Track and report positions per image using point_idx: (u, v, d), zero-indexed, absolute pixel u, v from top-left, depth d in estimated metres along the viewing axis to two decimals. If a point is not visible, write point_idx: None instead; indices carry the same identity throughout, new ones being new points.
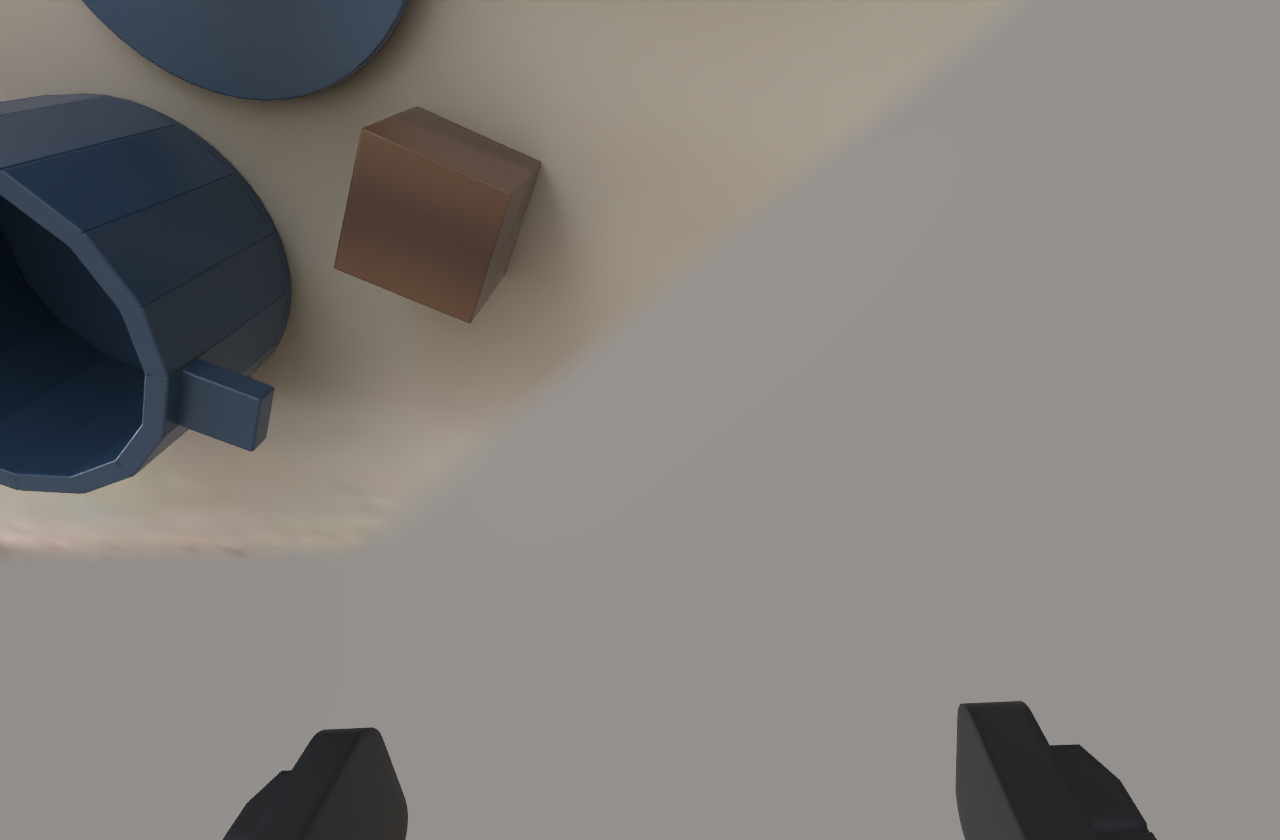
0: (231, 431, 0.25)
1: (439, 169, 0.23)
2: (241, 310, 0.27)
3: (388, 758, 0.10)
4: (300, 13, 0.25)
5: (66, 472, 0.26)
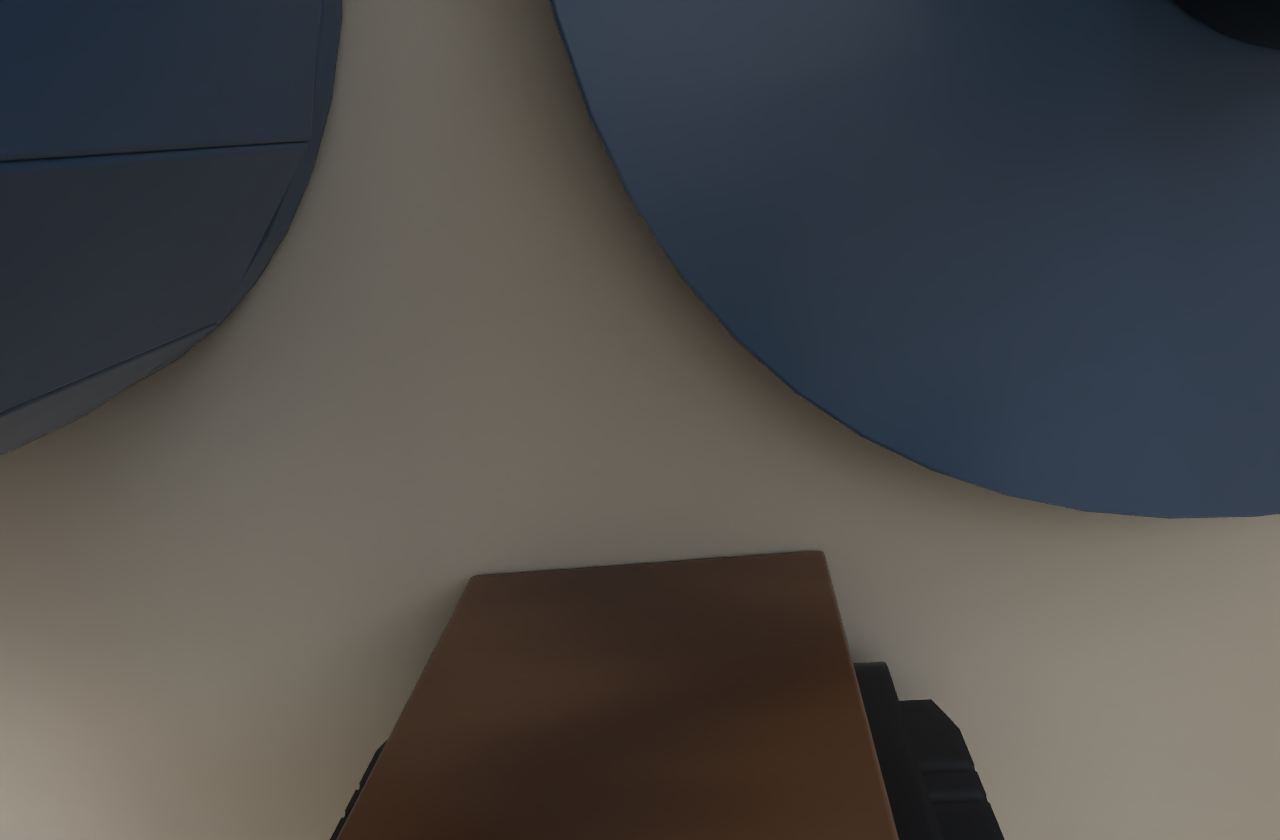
0: None
1: None
2: None
3: None
4: (982, 242, 0.07)
5: None
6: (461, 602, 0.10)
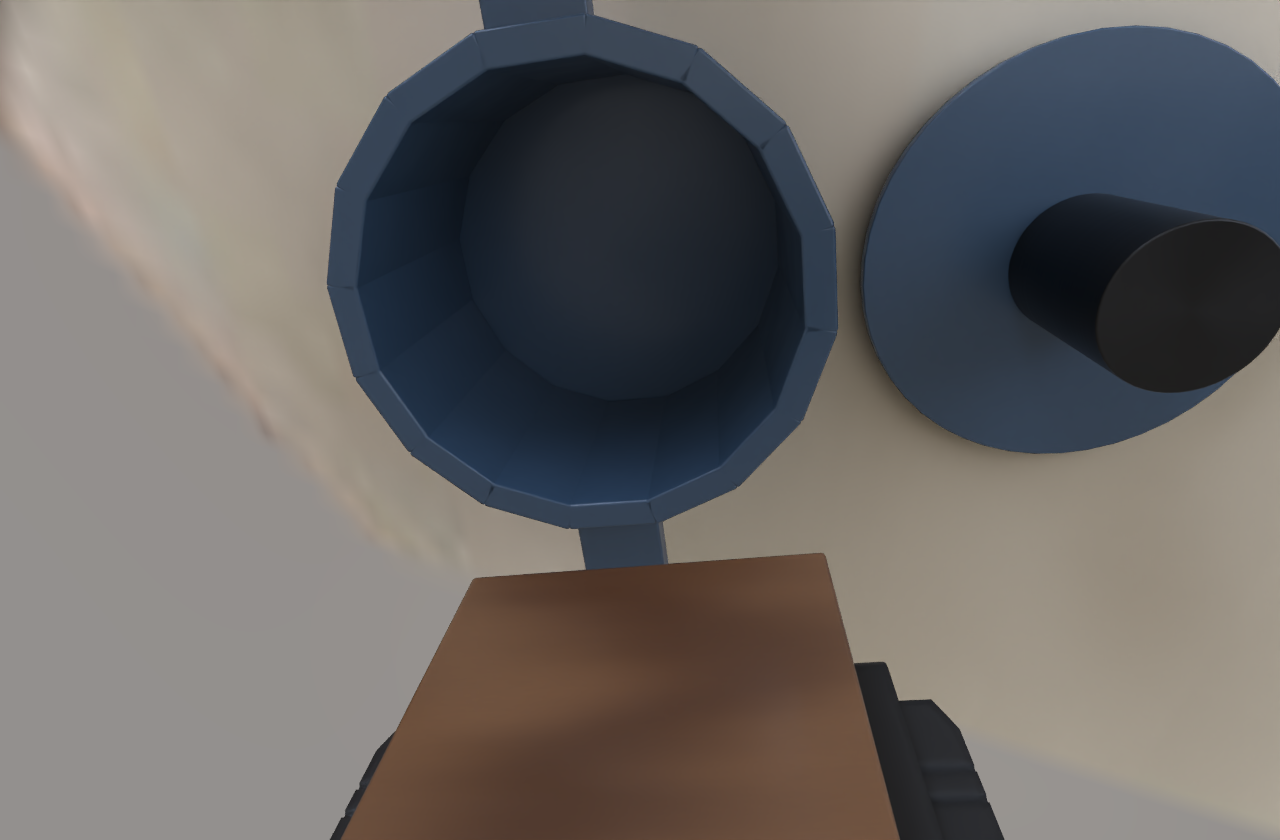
0: None
1: None
2: None
3: None
4: (978, 372, 0.25)
5: (424, 424, 0.20)
6: (463, 604, 0.10)
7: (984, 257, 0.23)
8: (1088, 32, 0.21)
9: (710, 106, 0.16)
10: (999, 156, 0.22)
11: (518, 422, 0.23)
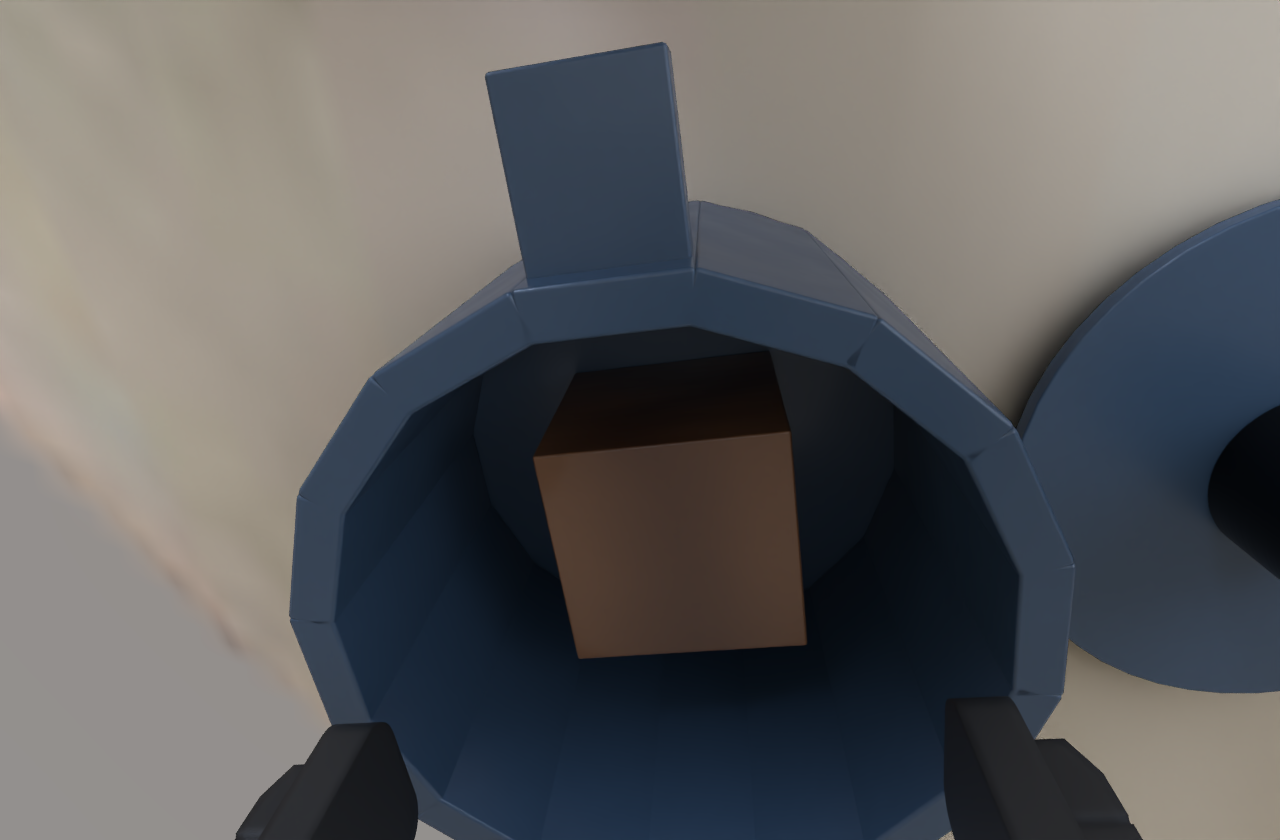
0: None
1: (789, 550, 0.14)
2: None
3: (400, 752, 0.11)
4: (1157, 601, 0.19)
5: (436, 779, 0.14)
6: (573, 380, 0.18)
7: (1177, 467, 0.18)
8: None
9: (891, 400, 0.10)
10: (1209, 345, 0.16)
11: (559, 699, 0.18)
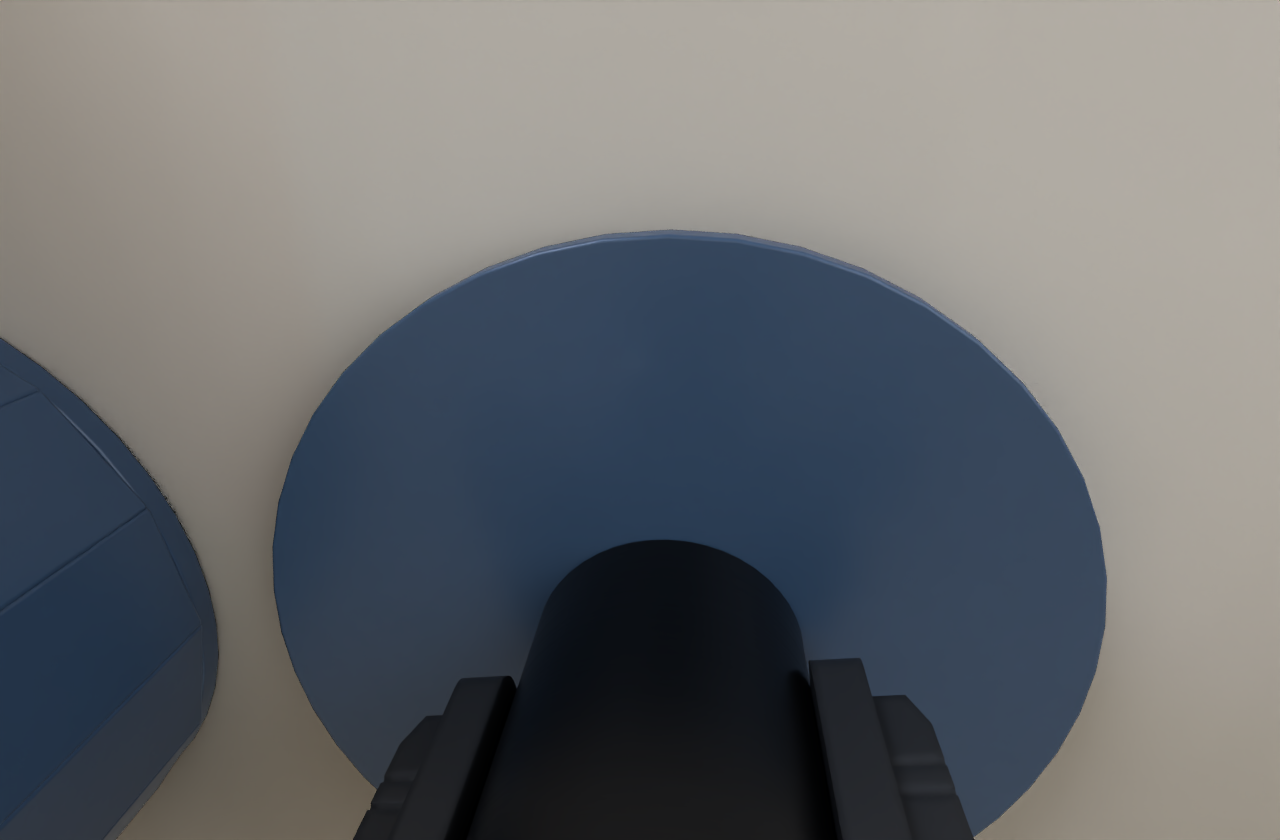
0: None
1: None
2: None
3: None
4: None
5: None
6: None
7: (492, 634, 0.12)
8: (572, 248, 0.10)
9: None
10: (465, 471, 0.11)
11: None
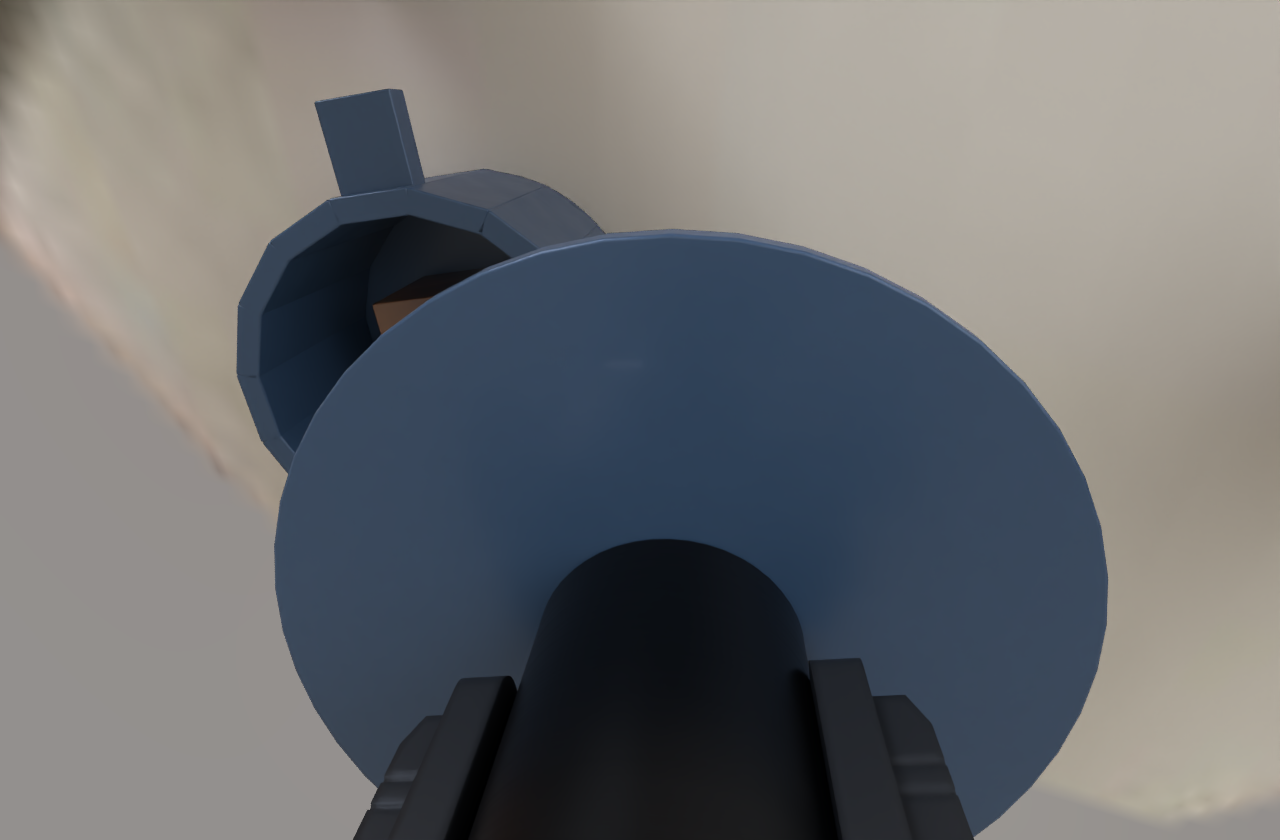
0: None
1: None
2: None
3: None
4: None
5: None
6: None
7: (493, 634, 0.12)
8: (574, 247, 0.10)
9: (502, 250, 0.22)
10: (467, 470, 0.11)
11: None
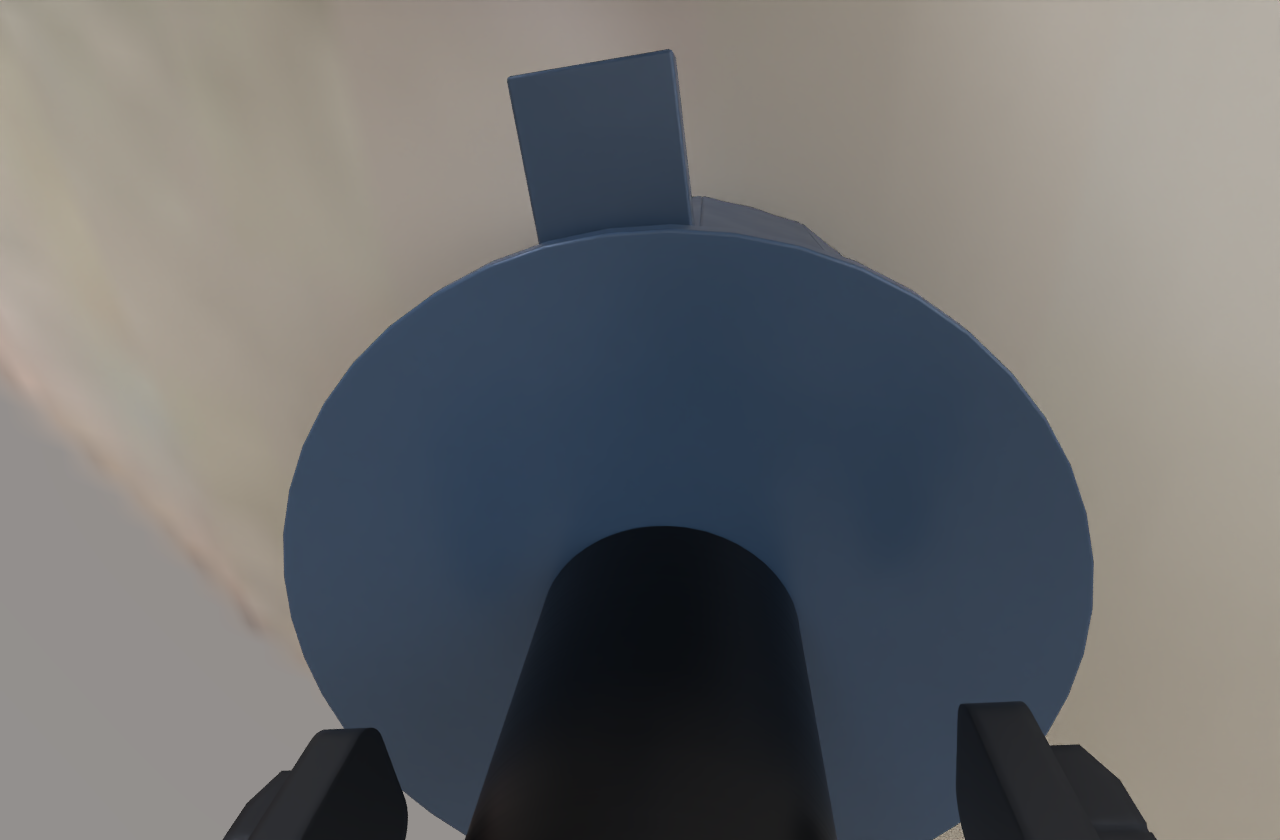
0: None
1: None
2: None
3: (388, 757, 0.10)
4: None
5: None
6: None
7: (496, 619, 0.13)
8: (576, 241, 0.10)
9: None
10: (472, 459, 0.11)
11: None
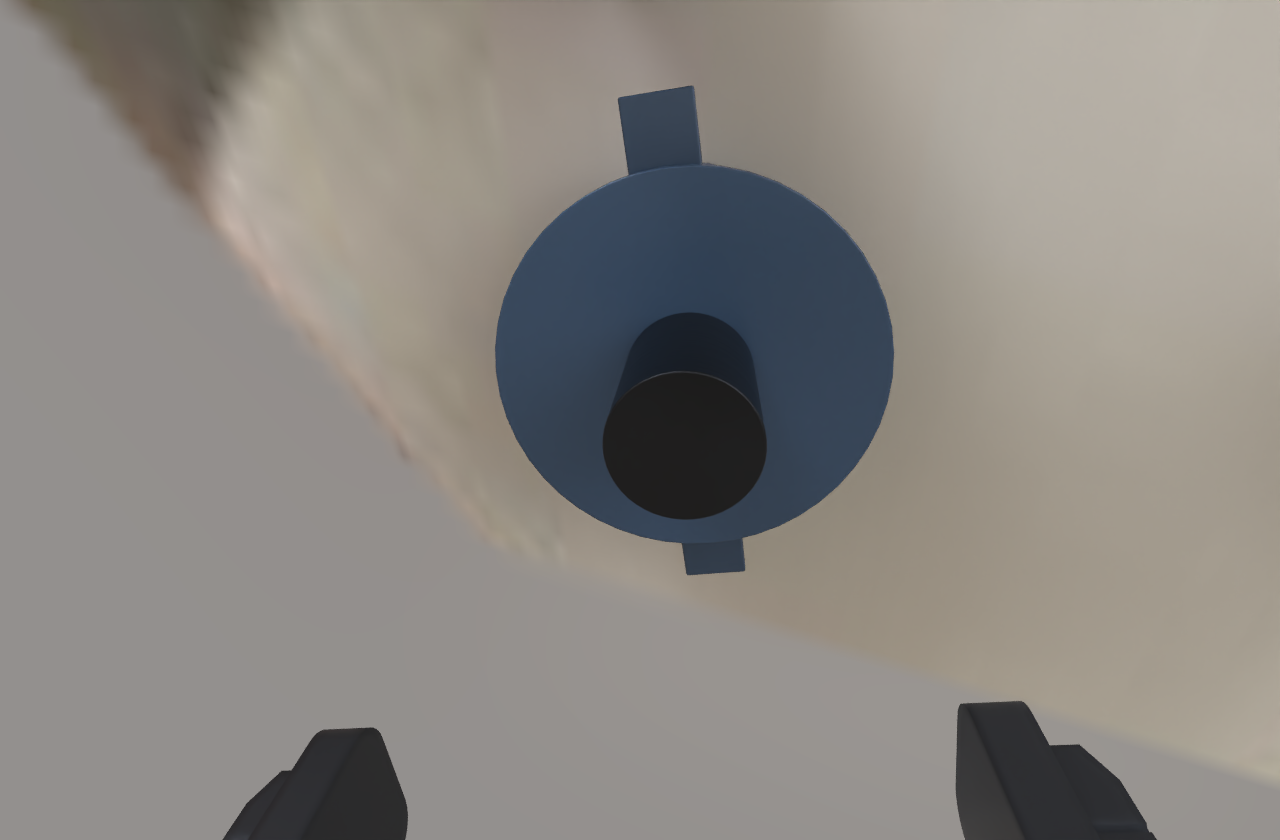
0: (698, 558, 0.29)
1: None
2: None
3: (388, 758, 0.10)
4: None
5: None
6: None
7: (602, 369, 0.25)
8: (650, 171, 0.22)
9: None
10: (596, 279, 0.24)
11: None
